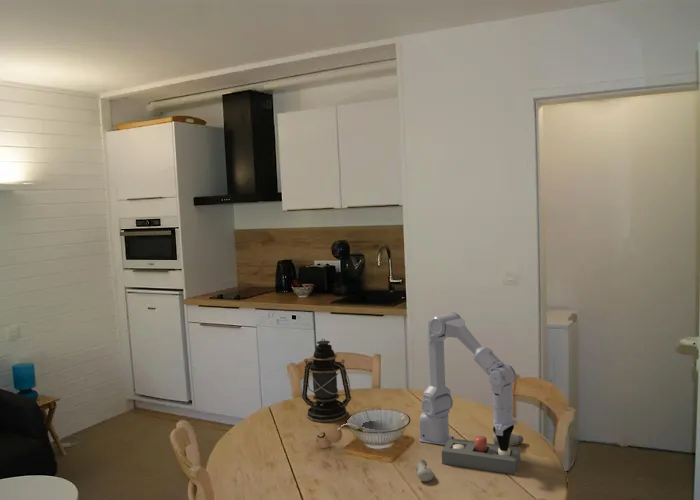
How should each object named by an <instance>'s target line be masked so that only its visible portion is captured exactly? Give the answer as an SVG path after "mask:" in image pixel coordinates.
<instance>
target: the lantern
mask: <svg viewBox="0 0 700 500" xmlns="http://www.w3.org/2000/svg"><path fill="white" fill-rule="evenodd" d="M330 342H331V341H330V340H325V338H322V339H321V340H319V341H316V344H317V345H316V346H315V350H314V352H313V355H312V356H311V357H310V360H309V359H308V358H304V359H303V361H304V362H305V366H304V374H303V381H302V393H301V399H302V400H303V401H304V403H305V404H306V406H309V408H307V414H306V415H307V418H308V419H309V420H310V421H312V422H315V423H316V422H317V423H333V422H337V421H340V420H342V419H343V418H346V416H347V415H348V411H347V406H348V404H349V403H350V402H351V400H352V396H351V392H352V390H351V382H350V378H349V376H348V372H347V370H346V367H345V364H344V363H345V359H344V358H343V359H340V361H336V359H337V356H338V354H337V353H335V351H334V349H332V347H333V346H332V344H330ZM338 371H340V372H339V373H340V376H341V381H342V386H343V390H344V393H343V394H341V396H345V399H344V400H343V401H341V400H339V399H340V394H339V393H338V392H339V388H338V378H337V377H338V374H339V373H337V372H338ZM310 373H312V374H311V377H312V384H313V385H312V387H313V389H311V388H310V385H309V383H310V382H309V378H310ZM308 391H311V392H312V393H314V395H313V397H312V400H311V399H310V398H309V396H308ZM313 400H314V401H313Z"/></svg>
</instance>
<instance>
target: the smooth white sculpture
mask: <svg viewBox="0 0 700 500" xmlns="http://www.w3.org/2000/svg"><path fill="white" fill-rule="evenodd" d="M415 470H416V472H417V473H416V476H417V477H418V479H419V480H420V481H421V482H425V483H426V482H430V481H432V480H433V478H434V475H435V474H434V472H433V470H432V469H431V468H430V467H429V466H428V463H427V461H426V460H425V459H420V460H419V461H418V462H417V463H416V466H415Z"/></svg>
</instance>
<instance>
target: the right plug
mask: <svg viewBox="0 0 700 500" xmlns="http://www.w3.org/2000/svg"><path fill="white" fill-rule="evenodd" d="M498 455H504V456H510V449H509V448H508V450H507V451H502V450H500V448H498Z"/></svg>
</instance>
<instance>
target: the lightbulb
mask: <svg viewBox="0 0 700 500" xmlns="http://www.w3.org/2000/svg"><path fill="white" fill-rule="evenodd" d="M492 442H493V444H497V445H499V443H498V439H497V437H496V435H495V433H494V432H493V435H492ZM523 442H524V437H523V435H521V434H517V433H513V432H512V433H511V436H510V442H509V446H512V445H518V444H523Z"/></svg>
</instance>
